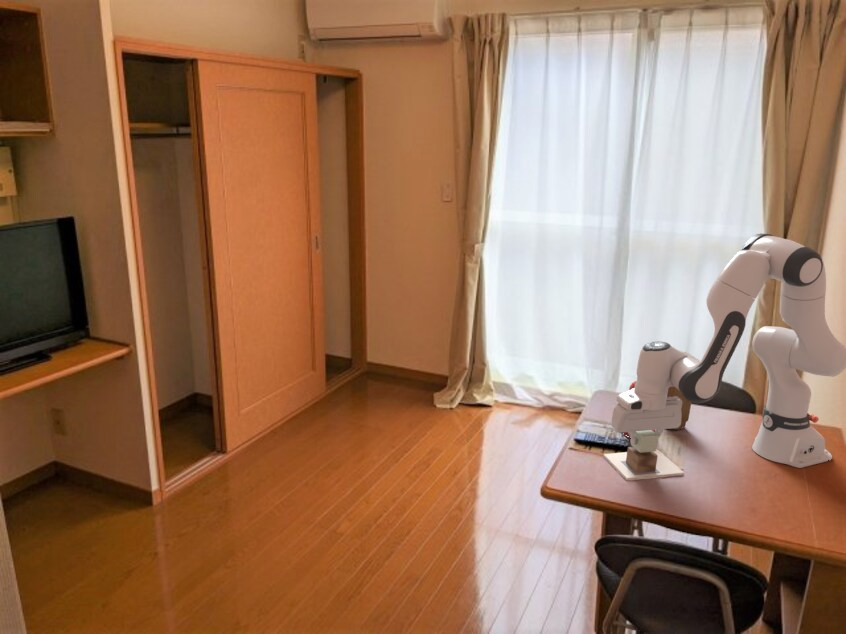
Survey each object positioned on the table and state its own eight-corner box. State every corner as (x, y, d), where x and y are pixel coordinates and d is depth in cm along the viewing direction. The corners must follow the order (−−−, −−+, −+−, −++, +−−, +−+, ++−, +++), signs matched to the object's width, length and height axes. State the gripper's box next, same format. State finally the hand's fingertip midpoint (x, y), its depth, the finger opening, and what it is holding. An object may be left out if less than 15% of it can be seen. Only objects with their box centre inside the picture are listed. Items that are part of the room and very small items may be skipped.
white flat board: (657, 451, 204) (657, 449, 203) (683, 475, 191) (684, 472, 190) (603, 456, 200) (603, 453, 200) (626, 480, 187) (626, 477, 186)
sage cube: (646, 443, 194) (648, 427, 192) (655, 451, 189) (657, 435, 188) (630, 444, 193) (632, 428, 191) (639, 452, 188) (641, 436, 187)
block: (689, 430, 218) (698, 373, 213) (668, 432, 217) (676, 374, 211) (671, 416, 229) (679, 362, 223) (651, 417, 227) (659, 362, 221)
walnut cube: (644, 460, 196) (646, 445, 195) (655, 471, 191) (657, 455, 189) (625, 462, 195) (627, 447, 193) (636, 472, 189) (638, 457, 188)
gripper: (676, 391, 192) (670, 435, 196) (611, 396, 187) (606, 440, 191) (689, 400, 186) (682, 445, 190) (622, 405, 181) (617, 450, 185)
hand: (643, 442), depth 190 cm, fingers closed on sage cube, 5 cm apart
